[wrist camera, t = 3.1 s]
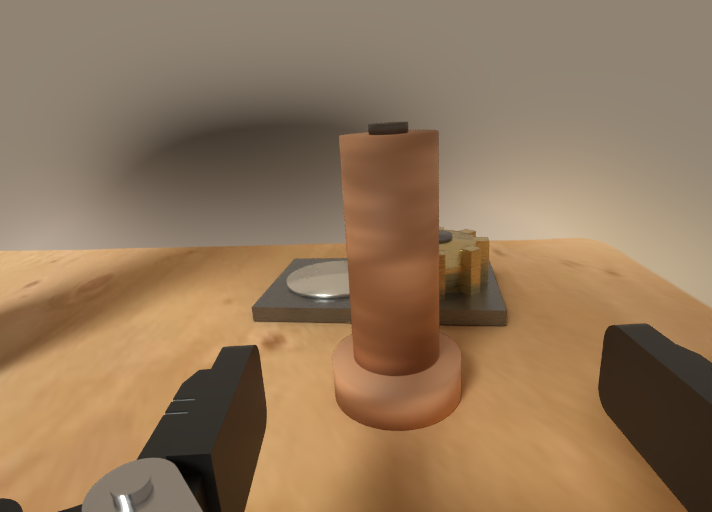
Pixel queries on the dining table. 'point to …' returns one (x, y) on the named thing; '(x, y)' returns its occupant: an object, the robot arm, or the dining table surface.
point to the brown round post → (394, 283)
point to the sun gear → (462, 262)
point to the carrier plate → (332, 297)
